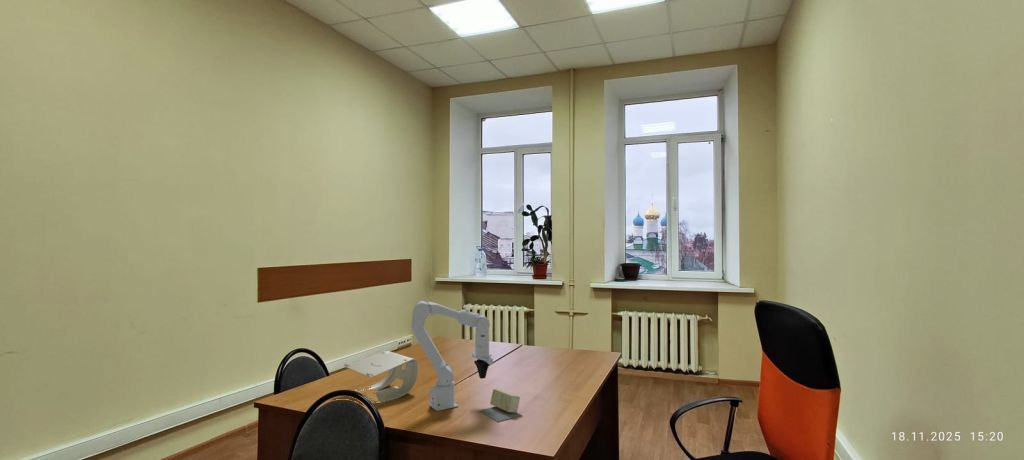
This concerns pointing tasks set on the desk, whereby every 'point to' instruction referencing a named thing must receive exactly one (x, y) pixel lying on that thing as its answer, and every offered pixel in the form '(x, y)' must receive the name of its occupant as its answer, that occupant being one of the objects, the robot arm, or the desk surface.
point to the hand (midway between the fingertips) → (482, 378)
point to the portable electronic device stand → (394, 365)
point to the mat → (499, 414)
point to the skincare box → (505, 400)
